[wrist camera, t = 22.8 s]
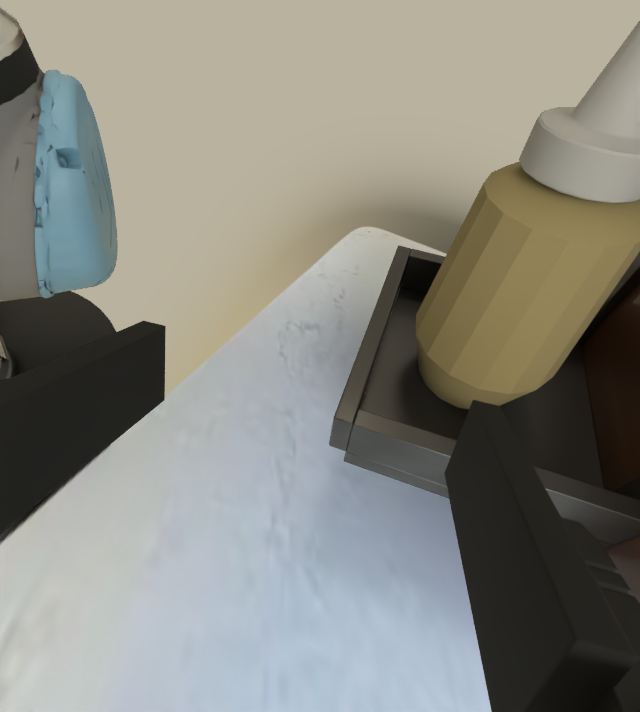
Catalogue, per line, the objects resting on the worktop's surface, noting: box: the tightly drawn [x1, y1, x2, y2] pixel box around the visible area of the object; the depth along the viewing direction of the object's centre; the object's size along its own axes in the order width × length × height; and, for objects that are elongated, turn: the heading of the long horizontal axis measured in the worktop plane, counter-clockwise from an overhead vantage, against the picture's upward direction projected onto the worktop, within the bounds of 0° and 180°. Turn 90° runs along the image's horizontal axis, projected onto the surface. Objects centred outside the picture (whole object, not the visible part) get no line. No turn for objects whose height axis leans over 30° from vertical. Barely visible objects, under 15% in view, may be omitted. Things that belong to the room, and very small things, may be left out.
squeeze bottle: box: [416, 21, 640, 410], centre depth 17 cm, size 8×8×18 cm
